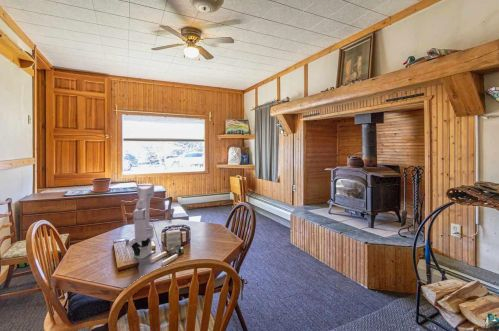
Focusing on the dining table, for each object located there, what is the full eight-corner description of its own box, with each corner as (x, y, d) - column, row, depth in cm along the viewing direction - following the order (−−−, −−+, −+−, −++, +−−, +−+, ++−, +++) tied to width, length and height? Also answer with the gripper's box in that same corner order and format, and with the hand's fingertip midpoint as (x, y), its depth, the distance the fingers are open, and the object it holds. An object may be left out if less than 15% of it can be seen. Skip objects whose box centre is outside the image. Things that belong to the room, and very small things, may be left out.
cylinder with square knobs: (167, 255, 162) (167, 248, 162) (176, 250, 169) (176, 243, 169) (175, 256, 160) (174, 249, 159) (183, 251, 167) (183, 245, 167)
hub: (134, 257, 146) (133, 246, 146) (141, 254, 151) (140, 243, 150) (140, 259, 144) (140, 248, 144) (147, 255, 149) (147, 245, 148)
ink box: (179, 245, 177) (179, 228, 176) (181, 248, 172) (180, 231, 171) (166, 248, 173) (166, 230, 172) (167, 250, 168) (167, 233, 167)
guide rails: (150, 262, 152) (150, 259, 152) (164, 254, 163) (164, 251, 163) (163, 265, 148) (163, 262, 148) (177, 257, 159) (177, 254, 159)
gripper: (135, 235, 138) (135, 260, 139) (155, 227, 151) (155, 250, 153) (125, 233, 141) (126, 257, 142) (146, 225, 154) (146, 248, 155)
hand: (140, 253), depth 148 cm, fingers closed on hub, 5 cm apart
